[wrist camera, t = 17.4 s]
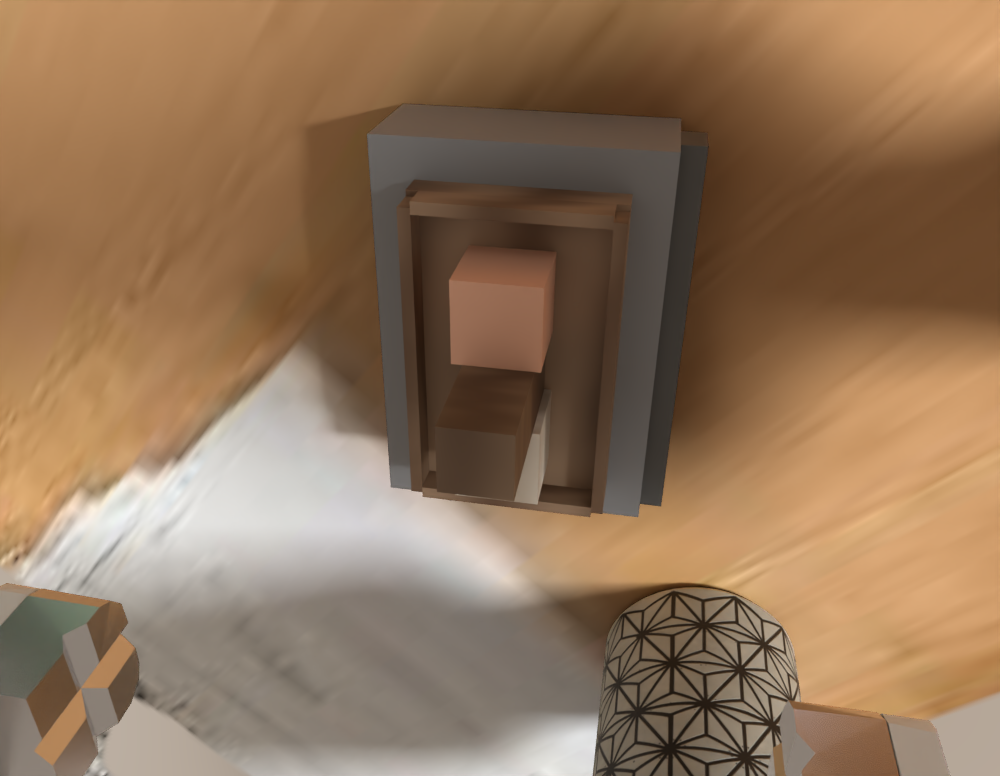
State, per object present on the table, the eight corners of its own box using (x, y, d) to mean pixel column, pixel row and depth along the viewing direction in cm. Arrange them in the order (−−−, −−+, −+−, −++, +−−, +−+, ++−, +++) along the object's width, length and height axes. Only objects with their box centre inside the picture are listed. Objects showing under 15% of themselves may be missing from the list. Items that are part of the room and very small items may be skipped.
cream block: (551, 389, 43) (540, 434, 39) (548, 456, 45) (537, 504, 42) (471, 381, 43) (453, 425, 40) (472, 448, 46) (455, 494, 42)
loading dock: (706, 119, 42) (709, 153, 37) (662, 457, 53) (660, 519, 48) (403, 103, 45) (367, 133, 40) (418, 430, 55) (390, 487, 50)
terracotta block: (556, 251, 39) (544, 288, 36) (552, 331, 41) (541, 372, 38) (469, 245, 40) (448, 279, 36) (469, 323, 42) (450, 363, 38)
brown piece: (632, 194, 39) (617, 290, 30) (606, 483, 47) (588, 626, 38) (414, 179, 40) (337, 267, 31) (425, 462, 48) (367, 595, 40)
